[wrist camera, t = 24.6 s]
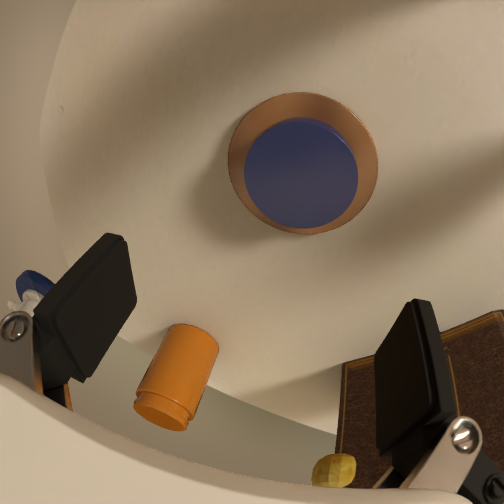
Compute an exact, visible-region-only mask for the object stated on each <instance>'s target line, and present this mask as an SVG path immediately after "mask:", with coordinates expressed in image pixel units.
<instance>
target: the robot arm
mask: <svg viewBox="0 0 504 504" xmlns="http://www.w3.org/2000/svg"><path fill="white" fill-rule="evenodd" d="M22 298H23V302H22V303H17V302H15V301H13V300H9V301H8V307H9V308H10V309H12V310H13V311H14V312H12V313H10V314H8V315H7V316H5V317H4V318H3V319H2V320H1V322H0V504H504V472H503V471H502V470H501V469H500V468H499V467H498V466H497V465H496V464H495V463H494V462H493V461H492V460H491V459H490V458H489V457H488V456H487V455H486V454H485V453H484V452H483V451H482V450H481V446H482V438H483V437H482V432H481V429H480V427H479V425H478V424H477V423H476V422H475V420H473V419H472V418H470V417H467V416H460V417H457V413H456V412H457V408H456V402H455V397H454V391H453V386H452V381H451V376H450V372H449V367H448V363H447V358H446V354H445V350H444V346H443V343H442V339H441V335H440V331H439V328H438V324H437V321H436V318H435V314H434V311H433V308H432V305H431V303H430V302H429V301H425V300H420V299H413V300H412V301H411V302H407V303H406V304H405V306H404V308H403V309H402V311H401V313H400V315H399V316H398V318H397V320H396V321H395V323H394V325H393V326H392V328H391V329H390V331H389V333H388V334H387V336H386V337H385V339H384V341H383V342H382V344H381V345H380V347H379V348H378V350H377V351H376V353H375V357H374V375H375V401H376V448H377V449H379V457H392V466H391V467H390V468H389V469H388V470H387V472H386V473H385V474H384V475H383V476H382V477H381V478H380V479H379V481H378V482H377V483H376V484H375V485H374V486H373V487H372V488H371V489H358V488H335V487H321V486H309V485H300V484H291V483H285V482H278V481H271V480H266V479H260V478H255V477H250V476H245V475H240V474H236V473H232V472H227V471H223V470H219V469H215V468H211V467H208V466H204V465H201V464H197V463H194V462H191V461H188V460H184V459H181V458H178V457H175V456H172V455H169V454H166V453H164V452H160V451H158V450H155V449H153V448H150V447H147V446H145V445H142V444H140V443H137V442H135V441H133V440H130V439H128V438H125V437H123V436H121V435H118V434H116V433H114V432H112V431H110V430H108V429H105V428H103V427H101V426H99V425H97V424H95V423H93V422H91V421H89V420H87V419H85V418H84V417H82V416H80V415H78V414H76V413H74V412H73V410H72V405H71V399H70V393H69V388H68V381H69V379H70V377H72V378H74V379H76V380H78V381H79V382H82V383H84V381H85V380H86V378H87V377H91V376H92V374H93V373H94V371H95V370H96V368H97V366H98V365H99V363H100V361H101V359H102V358H103V356H104V355H105V353H106V351H107V350H108V348H109V347H110V345H111V344H112V342H113V340H114V339H115V337H116V336H117V334H118V333H119V331H120V329H121V328H122V326H123V325H124V323H125V322H126V320H127V319H128V317H129V316H130V314H131V312H132V311H133V309H134V308H135V306H136V303H137V296H136V291H135V286H134V281H133V275H132V270H131V264H130V258H129V252H128V245H127V242H126V241H124V238H123V237H122V236H121V235H116V234H112V233H105V234H104V235H103V236H102V237H101V238H100V239H99V240H98V241H97V242H96V243H95V244H94V245H93V246H92V247H91V248H90V249H89V250H88V251H87V252H86V253H85V254H84V255H83V256H82V257H81V258H80V259H79V260H78V261H77V262H76V263H75V264H74V265H73V266H72V267H71V268H70V269H69V270H68V271H67V272H66V273H65V274H64V276H63V277H62V278H61V279H60V280H59V281H58V282H57V283H56V284H55V285H54V286H53V287H52V289H51V290H50V291H49V292H48V293H47V294H46V295H45V296H43V295H42V294H40V293H39V292H37V291H35V290H32V289H27V290H26V291H25V292H24V293H23V295H22Z"/></svg>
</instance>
